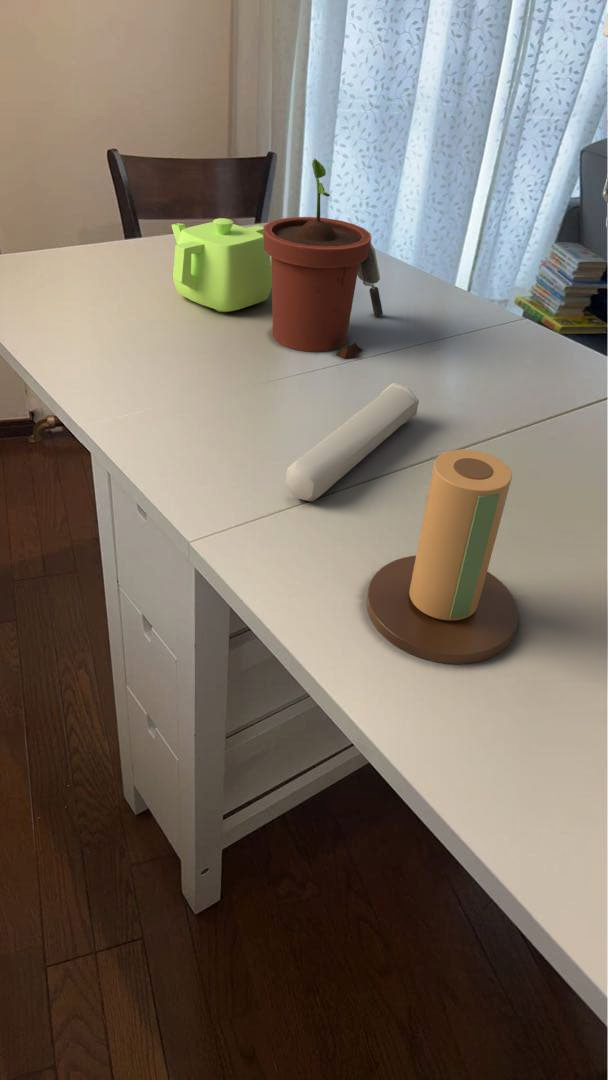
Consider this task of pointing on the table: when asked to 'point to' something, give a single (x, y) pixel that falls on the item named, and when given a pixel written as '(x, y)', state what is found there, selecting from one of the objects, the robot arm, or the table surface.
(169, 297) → the table surface
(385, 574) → the disc
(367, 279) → the potted plant
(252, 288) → the teapot
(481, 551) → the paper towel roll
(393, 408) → the tube
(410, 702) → the table surface
